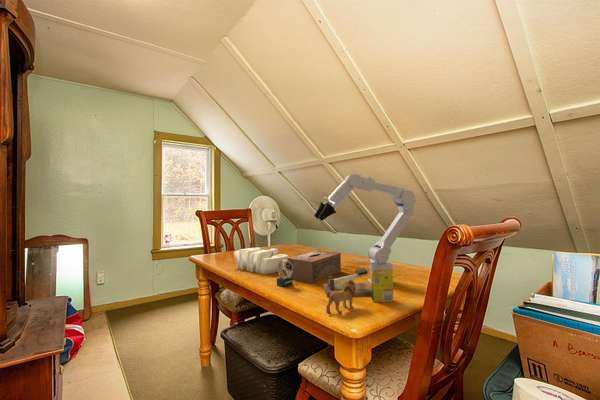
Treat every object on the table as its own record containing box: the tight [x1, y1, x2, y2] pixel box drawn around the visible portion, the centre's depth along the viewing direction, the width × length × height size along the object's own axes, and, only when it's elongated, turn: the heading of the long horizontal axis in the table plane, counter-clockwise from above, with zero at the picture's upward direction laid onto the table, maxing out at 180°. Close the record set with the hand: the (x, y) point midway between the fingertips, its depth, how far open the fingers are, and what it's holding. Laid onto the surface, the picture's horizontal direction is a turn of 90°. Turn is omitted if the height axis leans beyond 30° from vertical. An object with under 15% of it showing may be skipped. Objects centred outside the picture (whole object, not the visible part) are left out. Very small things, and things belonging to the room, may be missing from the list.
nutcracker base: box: [322, 275, 372, 298], centre depth 114 cm, size 19×12×6 cm, turn 92°
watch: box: [276, 259, 294, 288], centre depth 124 cm, size 6×8×11 cm
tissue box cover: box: [287, 250, 342, 284], centre depth 141 cm, size 26×14×10 cm, turn 142°
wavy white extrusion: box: [233, 247, 290, 275], centre depth 156 cm, size 35×16×11 cm, turn 51°
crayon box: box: [371, 270, 395, 303], centre depth 103 cm, size 7×3×12 cm, turn 91°
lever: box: [327, 267, 369, 284], centre depth 114 cm, size 16×5×6 cm, turn 92°
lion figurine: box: [325, 279, 356, 315], centre depth 95 cm, size 15×5×9 cm, turn 137°
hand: (317, 218), depth 123 cm, fingers open, 7 cm apart
